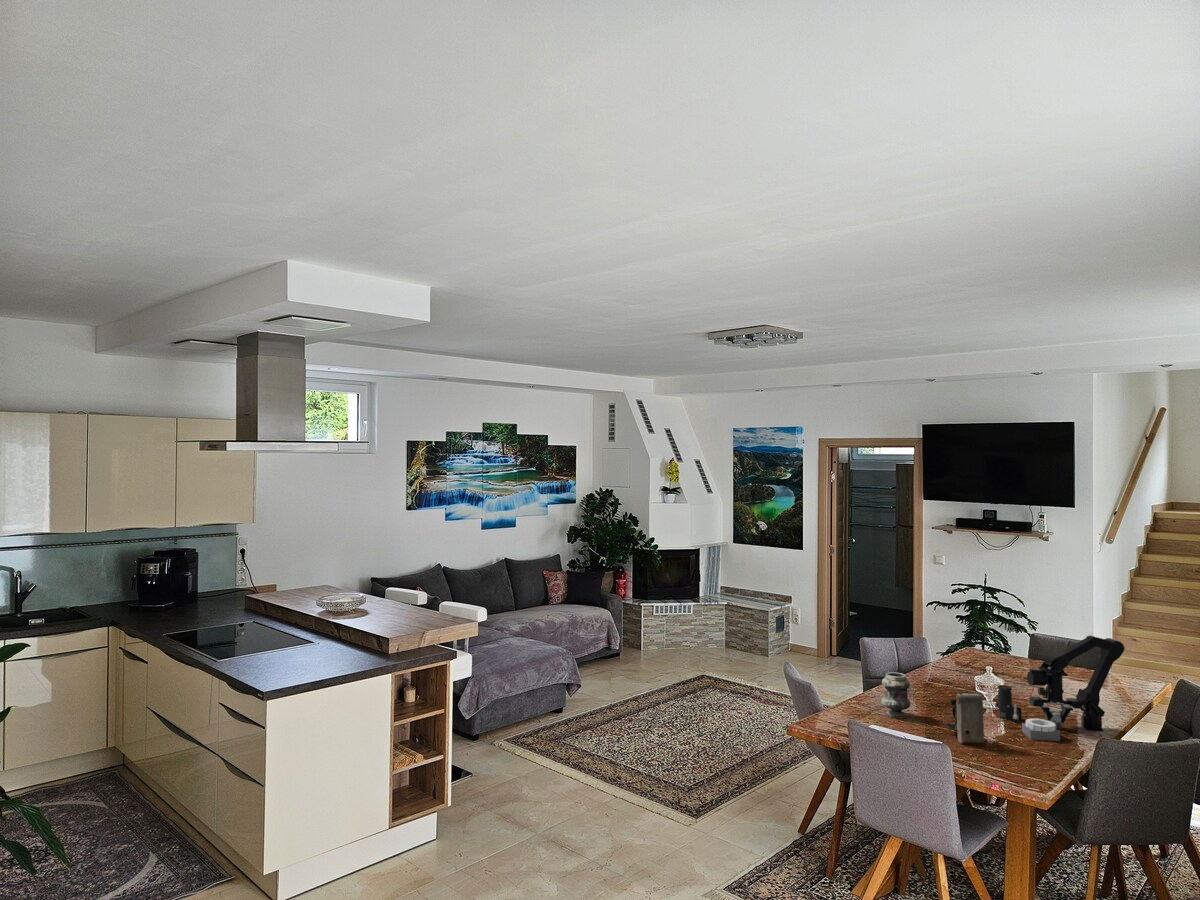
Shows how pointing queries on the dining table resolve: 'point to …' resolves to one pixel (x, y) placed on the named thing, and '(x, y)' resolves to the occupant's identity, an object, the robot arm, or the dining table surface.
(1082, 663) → the dining table surface
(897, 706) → the grey stone urn
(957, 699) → the vintage camera
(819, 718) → the dining table surface
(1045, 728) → the segmented white collar
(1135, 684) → the dining table surface
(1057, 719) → the door knob
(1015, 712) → the scope
